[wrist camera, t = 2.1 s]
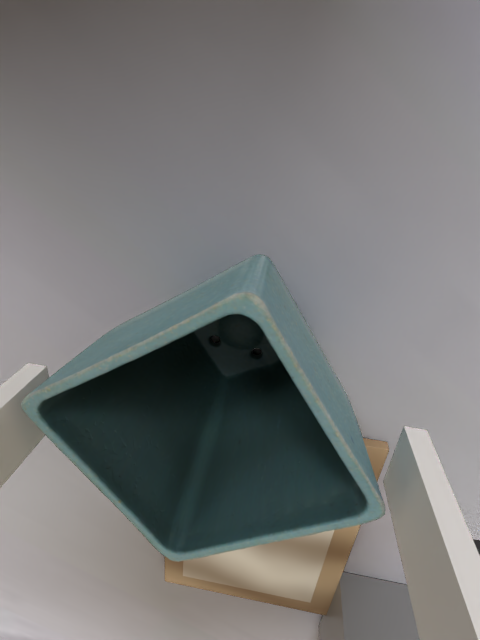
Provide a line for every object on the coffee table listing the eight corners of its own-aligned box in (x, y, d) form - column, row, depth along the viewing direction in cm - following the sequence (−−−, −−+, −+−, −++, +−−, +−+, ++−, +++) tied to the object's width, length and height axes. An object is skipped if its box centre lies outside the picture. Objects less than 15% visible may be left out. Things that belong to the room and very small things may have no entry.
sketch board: (166, 404, 23) (162, 412, 22) (387, 441, 22) (389, 451, 21) (167, 573, 31) (164, 582, 31) (325, 606, 30) (326, 617, 30)
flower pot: (215, 414, 23) (169, 569, 15) (126, 292, 20) (9, 405, 12) (356, 361, 20) (392, 521, 12) (276, 209, 17) (252, 285, 9)
